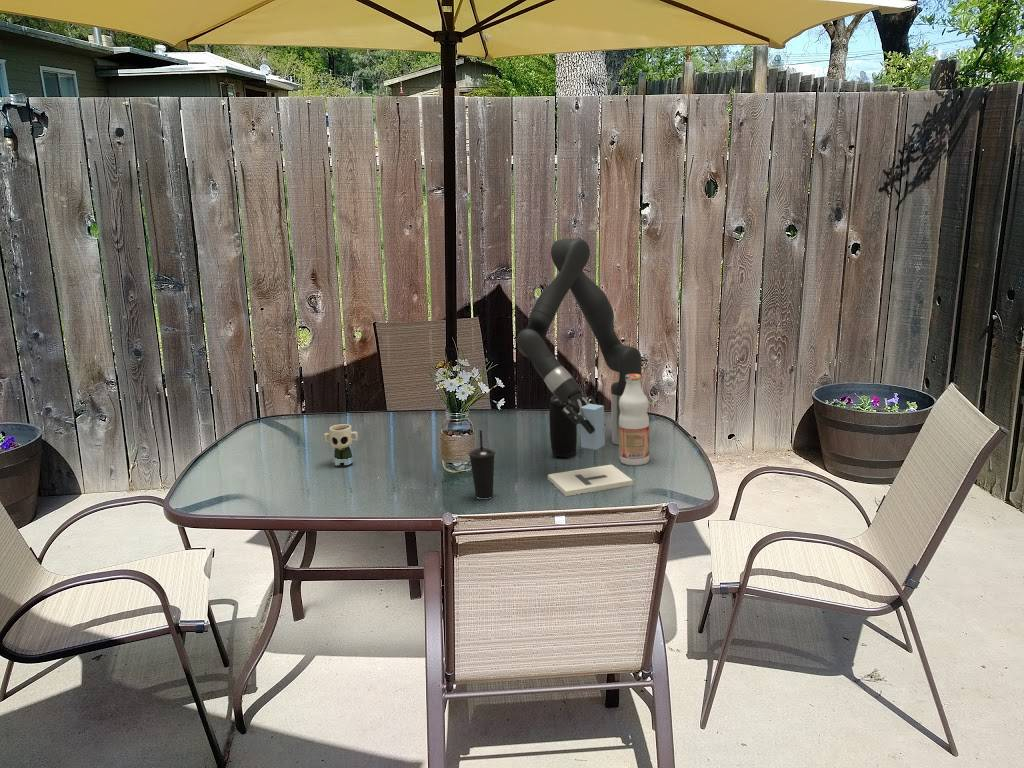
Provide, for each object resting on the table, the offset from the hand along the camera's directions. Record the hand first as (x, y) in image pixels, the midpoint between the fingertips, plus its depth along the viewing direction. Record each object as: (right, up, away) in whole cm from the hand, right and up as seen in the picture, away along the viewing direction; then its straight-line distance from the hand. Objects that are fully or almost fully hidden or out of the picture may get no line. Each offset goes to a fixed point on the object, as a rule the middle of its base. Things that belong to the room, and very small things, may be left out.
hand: (597, 429), depth 236 cm
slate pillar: (-1, -5, +2) cm, 6 cm away
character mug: (-80, -14, +32) cm, 87 cm away
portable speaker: (-8, -10, +31) cm, 33 cm away
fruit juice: (+14, -11, +22) cm, 28 cm away
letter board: (-2, -16, +6) cm, 17 cm away
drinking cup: (-33, -19, -1) cm, 38 cm away
